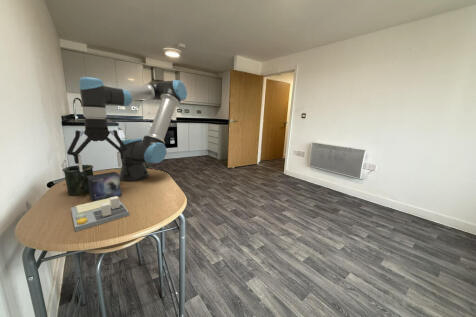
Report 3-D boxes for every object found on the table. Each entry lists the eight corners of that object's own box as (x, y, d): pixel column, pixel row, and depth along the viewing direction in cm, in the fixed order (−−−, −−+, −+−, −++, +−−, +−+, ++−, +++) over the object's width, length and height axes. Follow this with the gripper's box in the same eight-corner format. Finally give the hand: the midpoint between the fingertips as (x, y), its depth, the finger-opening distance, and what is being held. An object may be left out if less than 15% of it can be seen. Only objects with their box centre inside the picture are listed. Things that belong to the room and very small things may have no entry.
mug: (94, 186, 96) (91, 163, 93) (99, 194, 86) (96, 169, 83) (66, 191, 88) (61, 167, 86) (68, 201, 78) (63, 174, 76)
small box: (93, 203, 77) (90, 179, 74) (89, 199, 81) (86, 176, 79) (122, 196, 85) (119, 174, 82) (117, 192, 89) (114, 171, 86)
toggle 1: (109, 211, 66) (108, 202, 65) (111, 214, 65) (110, 204, 64) (101, 214, 65) (100, 204, 64) (103, 216, 63) (101, 206, 62)
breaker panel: (117, 200, 80) (116, 194, 80) (129, 215, 68) (128, 209, 68) (71, 211, 70) (70, 205, 69) (75, 231, 58) (74, 224, 57)
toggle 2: (118, 205, 71) (117, 196, 71) (119, 207, 70) (118, 197, 69) (110, 207, 70) (109, 197, 69) (112, 209, 68) (110, 199, 67)
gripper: (127, 119, 87) (131, 163, 91) (52, 117, 69) (61, 171, 74) (132, 119, 81) (136, 166, 86) (52, 117, 64) (62, 175, 68)
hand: (101, 168), depth 80 cm, fingers open, 13 cm apart
